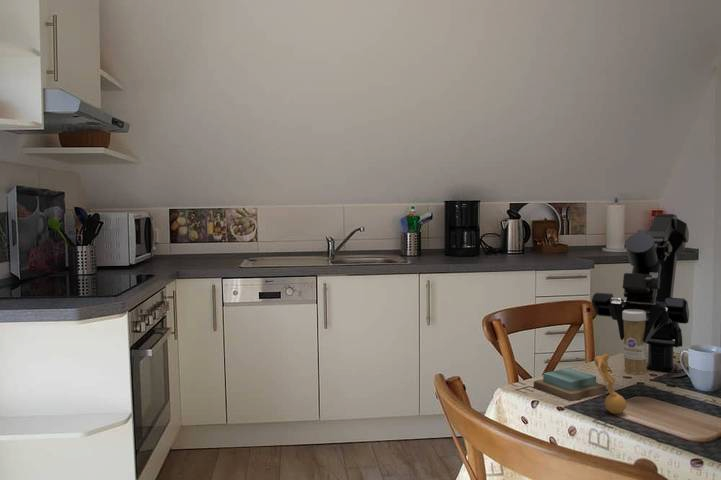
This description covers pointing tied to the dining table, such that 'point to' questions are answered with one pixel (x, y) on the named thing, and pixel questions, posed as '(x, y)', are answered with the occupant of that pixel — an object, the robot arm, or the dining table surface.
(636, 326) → the sprinkles bottle
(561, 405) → the dining table surface
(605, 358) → the figurine
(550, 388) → the tower base
